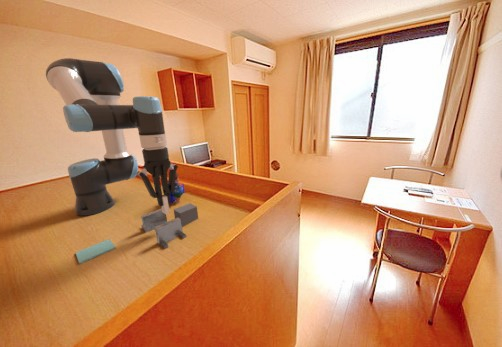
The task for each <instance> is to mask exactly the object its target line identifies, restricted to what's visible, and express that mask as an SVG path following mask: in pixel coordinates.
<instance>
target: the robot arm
mask: <svg viewBox="0 0 502 347" xmlns="http://www.w3.org/2000/svg"><path fill="white" fill-rule="evenodd" d="M45 77H46V80H47V81H48V83H49V85H50V87H52V88H53V89H54V90H56V91H57V92H58V93H59V95H60V97H61V99H62V100H63V102H64V103H65V105H64V106H63V107H62V111H63V115H64V119H65V123H66V124H67V128H68V130H70V131H71V132H73V133H74V132H75V133H78V132H79V133H81V132H84V133H91V132H99V131H100V132H101V134H102V139H103V143H104V147H105V151H106V153H105V154H104V155H103V159H104V160H100V159H99V158H95V157H94V158H87V159H84V160H81V161H77V162H74V163H72V164H70V165H69V166H68V167H67V173H68V177H69V179H70V181H71V185H72V189H73V191H74V195H75V204H74V211H75V215H77V216H82V217H83V216H90V215H95V214H100V213H102V212H105V211H107V210H109V209H112V208H113V207H114V206H115V204H116V201H115V199H114V198H113V197H112V195H111V194H110V192H109V191H108V189H107V186H106V185H110V184H114V183H118V182H122V181H123V182H124V181H127V180H131V179H134V178H136V177H137V176H138V177H139V178H141V180H142V182H143V184H144V186H145V188H146V190H147V191H148V193H149V196H150V197H152V198H153V199H156V200H157V205H158V206H160V207H161V208H162V212H163V213H164V214H166V215H168V214H170V205H169V204H171V203H170V195H171V194H170V193H172V192H174V188H175V176H176V172H177V170H178V168H179V166H178V165H177V164H174V163H171V162H172V161H171V160H170V159H169V157H170V156H169V149H168V147H167V145H168V144H167V137H166V130H165V124H164V123H165V122H164V115H163V108H162V106H161V101H160V99H159V97H156V96H150V95H149V96H144V95H141V96H134V97H132V104H119V102H118V101H119V99H120V98H121V97H122V96H121V94H122V93H124V91H125V90H124V89H125V86H124V81H123V77H122V75H121V73H120V71H119V69H118V68H117V66H115V65H114V64H112V63H109V62H108V63H107V62H103V61H95V60H94V61H93V60H85V59H77V58H72V57H71V58H65V57H64V58H60V59H57V60H55V61H53V62H51V63H50V64H49V65H48V66H47V68H46V70H45ZM128 129H129V130H131V129H137V130H138V136H139V140H140V147H141V148H142V150H141V153H142V156H143V157H142V158H143V162H144V163H143V164H144V165H143V168H142V169H141V170H140V171H139V164H138V160H137V157H135V156H134V155H132V153H131V152H130V151H128V149H127V143H126V137H125V133H124V132H125V131H124V130H128ZM168 170H169V172H168ZM148 173H149V174H150V175H151V178H152V181H153V185H152V183H151V181H150V179H149V177H148ZM161 208H160V209H161Z"/></svg>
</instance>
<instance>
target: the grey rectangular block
mask: <svg viewBox="0 0 502 347" xmlns="http://www.w3.org/2000/svg"><path fill="white" fill-rule="evenodd" d="M173 215H174V219H175V218H180V219H181V225H182V228H183V227H185V226H186V225H188V224H191V223H192V222H195V221H196V220H198V219H199V212H198V207H197V206H196V205H194V204H192V203H190V202H189V203H186V204H184V205H182V206H179V207H176V208H173Z"/></svg>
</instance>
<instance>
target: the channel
mask: <svg viewBox="0 0 502 347" xmlns="http://www.w3.org/2000/svg"><path fill="white" fill-rule="evenodd" d="M140 218H141V221H142V224H141V228H142V229H143V230H144V232H145V233H148V232H151V231H153V230H154V232H155V235H156V236H155V237H156V240H157V244H158V245H160V246H161V247H162V248H163V249H167V248H169V244H168V242H170V241H172V240H174V239H176V238H178V237H181V238H182V239H183V240H184V239H185V238H187V237H188V235H187V234H185V233H184V232H183V227H182V225H181V219H180V218H175V217H174V218H173V219H170V220H169V221H168V218H167V214H164V213H163V212H162V208H159V209H156V210H153V211H151V212H148V213H145V214H143V215H140Z"/></svg>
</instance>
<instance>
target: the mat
mask: <svg viewBox="0 0 502 347" xmlns="http://www.w3.org/2000/svg"><path fill="white" fill-rule="evenodd" d="M113 250H116V246H115V245H114V243H113V242H112V240H111V239H110V238H108V239H106V240H103V241H101V242H99V243H95V244H93V245H91V246H89V247H85V248H83V249H80V250H78V251H75V254H76V255H75V256H76V258H77V261H78V264H79V265H82V264H83V263H87V262H88V261H90V260H92V259H93V260H94V259H95V258H97V257H100V256H102V255H105V254H106V253H109V252H111V251H113Z"/></svg>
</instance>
